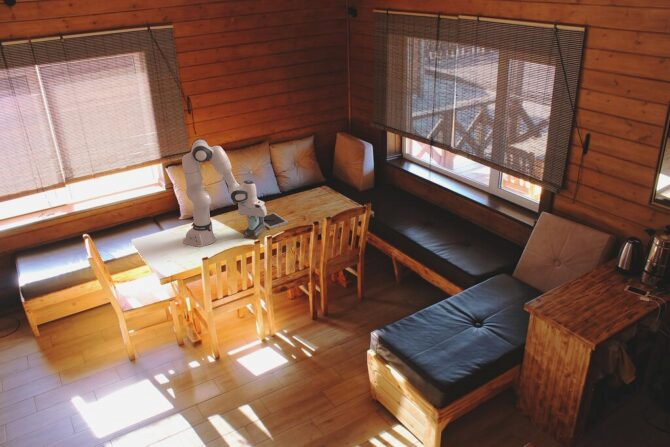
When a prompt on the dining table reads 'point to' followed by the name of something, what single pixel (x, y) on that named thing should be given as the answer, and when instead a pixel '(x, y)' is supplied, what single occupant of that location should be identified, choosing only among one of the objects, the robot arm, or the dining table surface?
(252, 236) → the book rack
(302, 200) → the dining table surface
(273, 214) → the picture frame
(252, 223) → the book
